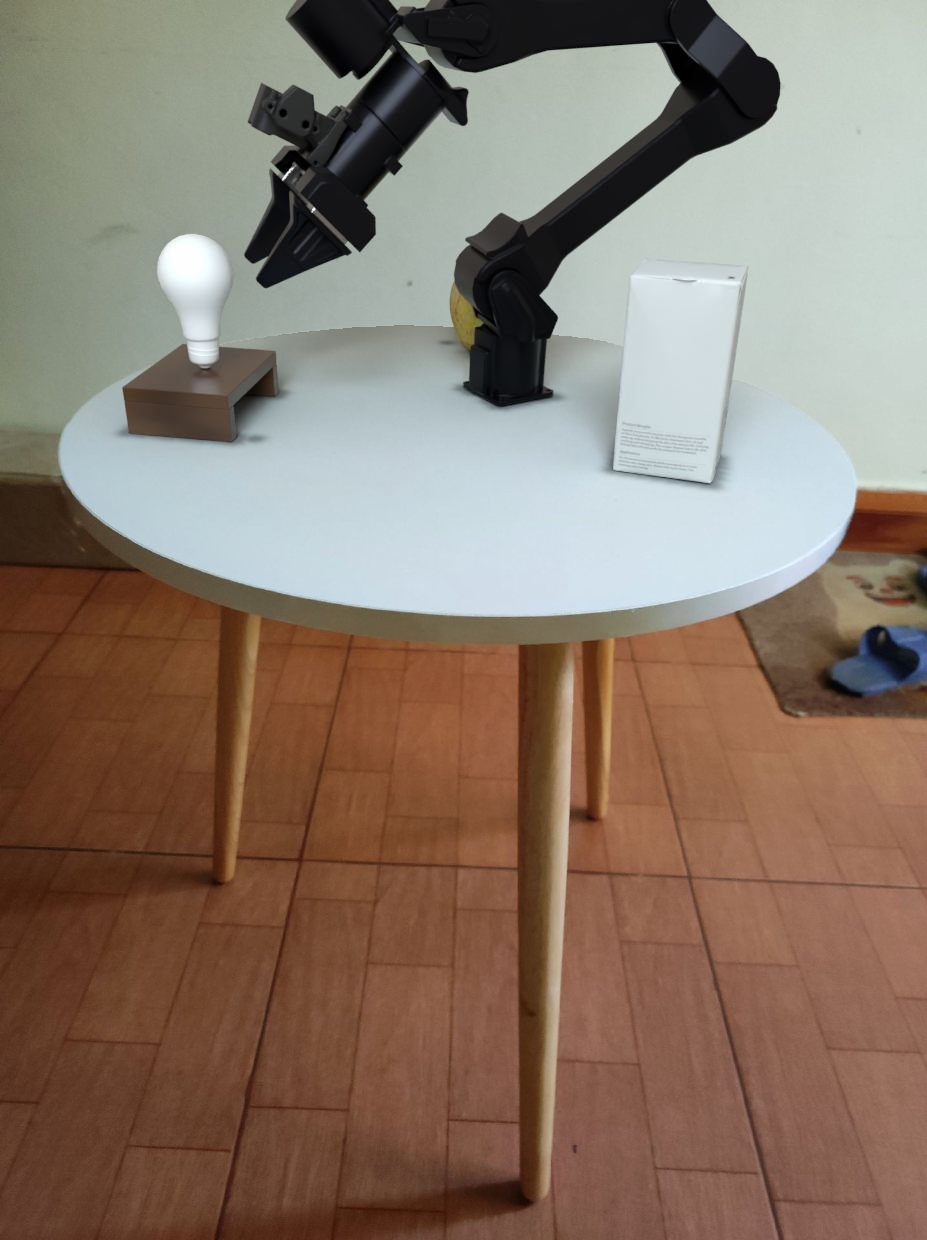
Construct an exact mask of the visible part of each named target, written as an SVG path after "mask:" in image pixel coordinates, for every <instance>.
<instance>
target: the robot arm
mask: <svg viewBox="0 0 927 1240" xmlns="http://www.w3.org/2000/svg"><path fill="white" fill-rule="evenodd" d="M284 19H285V21H286V22H287V23H288V24H289V26H290V27H292V28H293V30H294V31H295V32H296V33H297V34H298V35H299V37H300V38H301V39H302V40H303V41H304V42H305V43H306V44H307V45H308V46H309V47H310V49H311V50H312V51H313V52H314V53H315V54H316V55H317V56H318V58H319V59H320V60H321V61H322V62H323V64H325V65H326V67H327V68H328V69H329V70H330V71H331V72H332V73H333V74H334V75H335V76H336V78H337V79H344V77H346V76H347V75H349V74H350V73H351V74H352V76H353V77H354V78H355V79H356V80H357V81H360V80H362V79H363V78H364V77H366V76H367V75H368V74H369V73H370V72H371V71H372V70H373V69H374V68H375V67H376V66H377V65H378V64H379V62H380V61H382V59H383V58H384V56H385V55H386V54H387V52H388V51H390V52H391V53H390V55H389V56H388V57H387V58H386V60H385V61H383V63H382V64H381V65H380V67H378V69H377V70H376V71H375V72H374V73H373V74H372V76H371V77H370V78H369V79H368V80H367V82H365V84H364V85H363V86H362V87H361V89H359V91H358V92H357V94H356V95H355V96H354V97H353V98H352V99H351V100H350V102H349V103H348V104H347V105H346V106H344V105H342V104H340V105H335V106H334V107H333V108H331V109H330V111H329V112H328V113H327V115H326V114H323V113H322V112H319V111H317V110H316V107H315V99H314V98H315V95H314V94H312V93H311V92H309V91H307V90H305V89H303V88H301V87H299V86H297V85H296V84H291V85H290V86H289V87H288V88H287V89H285V91H284V92H283V93H282V92H281V91H279V90H277V89H275V88H272V87H271V86H269V85H267V84H265V83H263V82H260V84H259V88H258V90H257V93H256V97H255V99H254V102H253V105H252V109H251V111H250V113H249V116H248V119H247V124H249V125H250V126H251V127H253V129H255V130H257V131H259V132H261V133H263V134H265V135H268V136H276V137H277V138H279V139H281V140H283V141H286V142H288V143H290V144H291V145H283V146H282V147H281V149H280V150H279V151H278V152H277V153H276V155H275V156H274V157H273V158H272V159H271V160H270V163H271V164H272V165H273V166H274V167H275V168H276V169H277V170H278V171H279V173H278V174H277V173H276V172H275V171H274V170H273V169H272V168H271V167H270V168H269V169H268V172H269V173H268V175H269V178H270V180H269V181H270V189H271V190H270V191H271V198H270V200H269V203H268V204H267V207H266V209H265V211H264V213H263V215H262V217H261V219H260V221H259V223H258V225H257V227H256V229H255V231H254V233H253V235H252V237H251V239H250V240H249V243H248V245H247V247H246V249H245V251H244V253H243V256H244V258H245V259H246V260H247V261H248V262H249V263H250V264H252V265H255V264H257V263H258V262H261V261H262V260H264V259H265V260H264V263H263V264H262V266H261V268H260V269H259V271H258V273H257V275H256V276H255V280H256V282H257V284H259V285H260V286H261V287H262V288H264V289H269V288H271V287H273V286H275V285H278V284H280V283H282V282H284V281H286V280H290V279H292V278H294V277H296V276H298V275H301V274H302V273H305V272H308V271H310V270H312V269H315V268H316V267H320V266H322V265H324V264H326V263H327V264H328V263H329V262H332V261H334V260H337V259H339V258H342V257H344V256H346V257H349V256H350V255H351V254H353V251H352V250H351V249H350V248H349V247H348V246H347V245H346V244H347V243H350V245H351V246H353V248H354V249H356V251H357V252H359V253H361V252H362V251H363V250H364V249H365V247H367V245H368V244H369V243H370V242H371V241H373V239H374V237H376V235H377V224H376V220H377V219H376V216H375V214H374V213H373V212H371V210H370V209H369V208H368V207H369V204H368V203H367V202H366V201H365V200H366V199H367V198H368V197H369V196H370V195H371V194H372V192H373V191H374V190H375V189H376V188H377V187H378V186H379V184H380V183H381V182H382V181H383V180H384V179H385V177H386V176H387V175H388V174H391V175H392V176H394V177H395V176H396V175H397V174H398V173H399V172H400V171H401V169H402V168H403V167H404V166H403V164H402V163H401V162H400V160H401V159H402V158H403V157H404V156H405V155H406V153H408V151H409V150H410V149H411V148H412V147H413V145H414V144H416V142H417V141H418V140H419V139H420V138H421V137H422V135H423V134H424V133H425V132H426V130H427V129H429V127H430V126H431V125H432V124H433V123H434V122H435V121H436V120H437V118H438V117H439V116H440V115H441V114H443V115H444V116H445V117H446V119H447V120H448V121H449V122H450V123H453V124H455V125H459V126H461V127H465V126H467V124H468V123H469V117H468V96H469V93H470V92H469V89H468V88H466V87H462V86H452V85H451V84H450V83H449V82H448V80H447V78H445V77H444V76H443V74H442V73H441V72H440V70H438V68H437V67H436V66H435V64H434V63H433V62H432V61H434V62H435V63H436V64H437V65H438V66H440V67H442V68H443V69H449V70H453V71H459V72H464V73H474V74H477V73H482V72H487V71H489V70H493V69H496V68H499V67H504V66H507V65H510V64H513V63H516V62H519V61H522V60H524V59H527V58H529V57H531V56H535V55H537V54H541V53H544V52H548V51H563V50H575V49H576V50H577V49H590V48H603V47H604V48H605V47H616V46H617V47H618V46H632V45H644V44H645V45H647V44H656V45H657V46H658V47H659V49H660V50H661V52H662V54H663V57H664V59H665V61H666V62H667V66H668V67H669V70H670V71H671V73H672V75H673V77H674V78H675V79H677V81H678V82H679V83H678V85H677V86H676V87H675V89H674V90H673V92H672V94H671V95H670V97H669V99H668V101H667V102H666V104H665V106H664V107H663V109H662V112H661V113H660V114H659V115H658V116H657V118H655V119H654V120H653V121H652V122H650V123H649V124H648V125H647V126H645V127H644V128H643V129H641V130H640V131H639V132H638V133H637V134H636V135H634V136H633V137H632V138H630V139H629V140H628V141H626V142H625V143H624V144H623V145H622V146H620V147H619V148H618V149H616V150H614V152H612V153H611V154H610V155H609V156H608V157H606V158H605V159H604V160H602V161H601V162H600V163H599V164H597V165H596V166H594V167H593V169H591V170H590V171H589V172H587V173H586V174H585V175H583V176H582V177H581V178H579V179H578V180H577V181H576V182H574V183H573V184H572V185H571V186H570V187H568V188H567V189H566V190H564V191H563V192H562V193H561V194H560V195H558V196H557V197H556V198H554V199H553V200H552V201H550V202H549V203H548V204H547V205H546V206H544V207H542V209H541V210H539V211H538V212H537V213H535V214H534V215H532V216H531V217H528V218H526V219H523V220H519V221H518V220H516V219H515V218H513V217H511V216H509V215H507V214H506V213H504V212H499V213H497V214H496V215H495V216H494V217H493V218H492V219H491V220H490V222H489V223H487V225H486V226H485V227H484V228H483V229H482V230H481V231H479V232H477V233H475V234H474V235H470V236H467V237H465V239H464V241H465V243H467V244H469V245H467V246H465V248H463V250H462V251H461V252H460V253H459V254H458V256H457V258H456V259H455V265H454V272H453V278H454V279H453V280H455V285H456V287H457V289H458V292H459V293H460V294H461V295H462V296H463V298H464V299H465V300H467V301H468V302H469V303H470V304H471V306H472V309H473V312H474V315H475V317H476V318H478V319H480V320H481V321H482V322H483V324H482V325H481V326H479V327H475V330H474V344H473V345H471V347H470V350H469V368H468V380H465V381H463V385H462V387H463V388H464V389H466V390H467V391H469V392H471V393H472V394H473V393H474V394H475V395H477V396H479V397H481V398H483V399H485V400H486V401H488V402H490V403H492V404H494V405H496V406H501V407H502V406H506V405H507V406H508V405H513V404H518V403H524V402H530V401H533V400H539V399H544V398H550V397H554V390H553V389H551V388H549V387H547V386H545V373H546V372H545V371H546V359H547V346H548V345H547V344H548V340H549V339H550V338H551V337H552V334H553V333H554V330H555V327H556V325H557V323H558V319H559V316H558V314H557V313H556V312H555V311H554V309H552V308H551V306H549V304H548V303H547V302H546V301H545V300H544V298H543V297H542V296H541V295H542V294H543V293H544V292H545V290H546V289H547V288H548V287H549V286H550V283H551V282H552V280H553V278H554V277H555V275H556V273H557V271H558V269H559V268H560V266H561V264H562V262H563V261H564V260H565V258H566V257H567V256H569V255H570V254H571V253H572V252H574V251H575V250H576V249H578V248H579V247H580V246H582V244H584V243H585V242H587V241H588V240H589V239H590V238H592V237H593V236H594V235H596V234H597V233H598V232H600V230H602V229H603V228H604V227H606V226H607V225H608V224H610V223H611V222H612V221H613V220H615V219H617V217H618V216H620V215H621V214H622V213H624V212H625V211H626V210H627V209H629V208H630V207H631V206H632V205H634V204H635V203H636V202H638V201H639V200H640V199H641V198H643V197H644V196H645V195H647V194H648V193H650V191H651V190H653V189H654V188H655V187H657V186H658V185H659V184H661V183H662V182H663V181H665V180H666V179H667V178H668V177H670V176H671V175H672V174H674V173H675V172H676V171H678V170H679V169H680V168H681V167H682V166H683V165H685V164H686V163H687V162H689V161H690V160H692V159H693V158H695V157H698V156H700V155H702V154H703V155H704V154H706V153H708V152H712V151H714V150H717V149H719V148H722V147H725V146H728V145H732V144H733V143H735V142H737V141H739V140H740V139H742V138H744V137H746V136H748V135H749V134H751V133H753V132H755V131H757V130H759V129H760V128H762V127H763V126H766V124H767V123H769V121H770V120H771V119H772V118H773V117H774V115H775V114H776V112H777V111H778V103H779V100H780V97H781V85H782V83H781V78H780V73H779V71H778V69H777V67H776V66H775V64H774V63H773V62H772V61H770V60H769V59H768V58H767V57H764V56H760V55H758V54H757V53H756V52H755V51H754V49H753V48H752V46H751V45H750V44H749V42H748V41H747V40H746V39H745V38H744V37H742V35H741V34H739V33H738V32H737V31H736V30H735V29H734V28H732V26H730V24H728V23H727V22H726V21H725V20H724V19H723V18H721V16H720V15H718V13H717V12H716V11H715V10H714V8H713V7H712V5H711V3H709V1H708V0H429V1H428V3H427V4H426V5H425V7H416V6H409V5H407V6H400V7H399V8H398V9H397V8H396V7H395V6H394V4H393V3H392V2H391V0H295V2H294V3H293V4H292V6H291V7H290V9H289V10H288V11H287V14H286V15H285V18H284ZM401 42H402V43H406V44H410V45H414V46H418V47H421V48H424V49H425V51H426V53H427V55H428V57H430V58H431V59H432V60H430V59H424V60H422V61H420V62H417V61H416V60H415V58H413V56H412V55H411V54H410V52H409V51H408V50H407V49H406V48H405V47H404V46H403V45H402V43H401Z"/></svg>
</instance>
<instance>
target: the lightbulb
mask: <svg viewBox="0 0 927 1240" xmlns="http://www.w3.org/2000/svg"><path fill="white" fill-rule="evenodd" d="M156 264H157V265H156V272H157V280H158V283H159V285H160V288H161V290H162V291H163V293H164V295H165V296H166V298H167V300H168V301H169V303H170V304H171V305H172V307H173V309H174V310H175V313H176V315H177V317H178V319H179V322H180V327H181V331H182V336H183V338H184V339H185V340H186V344H187V347H188V352H189V358H190V361H191V362H192V363H194V364H197V365H198V366H199V367H200V368H210V367H211V366H212V364H214V363H216V362H217V361H218V360H219V347H220V345H219V344H220V342H219V338H220V337H221V333H222V331H221V329H222V328H221V327H222V326H221V323H222V315H223V312H224V311H223V310H224V307H225V305H226V302H227V300H228V298H229V296H230V293H231V290H232V287H233V284H234V278H235V277H234V275H235V274H234V268H233V264H232V261H231V259H230V257H229V255H228V253H227V252H226V251H225V249H224V248H223V247H222V246H221V244H219V243H218V242H217V241H215V240H213V239H212V238H211V237H208V236H206V235H203V234H198V233H185V234H181V235H179V236H177V237H175V238H173V239H171V240H170V241H169V242H167V244H166V245H165V246H164V248H163V249H162V250H161V252H160V254H159V256H158V259H157V263H156Z"/></svg>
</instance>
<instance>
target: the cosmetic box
mask: <svg viewBox="0 0 927 1240" xmlns="http://www.w3.org/2000/svg"><path fill="white" fill-rule="evenodd" d="M748 273H749V265H745V264H744V265H742V264H731V263H717V262H716V263H714V262H704V261H703V262H702V261H701V262H700V261H686V260H674V259H660V258H651V257H645V258H644V259H643V261H642V262H641V263H640V264H639V265H638V266H637V267H636V268H635V269H634V270H633V272H632V273H631V274H630V275H629V276H628V285H627V286H628V289H627V299H626V312H625V321H624V323H625V325H624V334H623V335H624V336H623V345H622V357H621V366H620V367H621V368H620V380H619V392H618V403H617V414H616V425H615V437H614V447H613V462H612V470H613V471H615V472H622V473H623V472H624V473H632V474H639V475H645V476H653V477H661V478H668V479H675V480H681V481H682V480H683V481H691V482H696V483H704V484H712V482H713V480H714V478H715V474H716V472H717V469H718V466H719V462H720V459H721V456H722V451H723V445H724V438H725V437H724V436H725V431H726V424H727V417H728V411H729V405H730V397H731V392H732V391H731V390H732V384H733V383H732V382H733V376H734V370H735V363H736V356H737V349H738V343H739V337H740V336H739V335H740V329H741V321H742V315H743V309H744V300H745V295H746V288H747V281H748Z"/></svg>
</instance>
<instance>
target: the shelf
mask: <svg viewBox="0 0 927 1240" xmlns="http://www.w3.org/2000/svg"><path fill="white" fill-rule="evenodd" d="M277 363H278V362H277V352H276V350H269V349H258V348H257V349H255V348H243V347H229V346H219V360H218V361H217V362H216V363H214V364H212V366H211V367H210V368H200V367H199V366H198V365H197V364H194V363H192V362H191V361H190V358H189V352H188V347H187V343H182V344H180V345H178V347H176V348H174V349H173V350H172V351H170V352H169V353H168V354H166V355H165V356H163V357H162V358H161V359H159V360H158V361H157V362H155V363H153V364H152V365H150V367H148V368H147V369H145V370H143V372H141V373H140V374H139V375H137V376H136V377H134V378H133V379H132V380H130V381H129V382H128V383H126V384H125V385H123V386H122V395H123V402H124V403H123V404H124V408H125V409H124V410H125V414H126V415H125V416H126V421H127V427H128V429H127V430H128V434H134V435H146V436H157V437H170V438H180V439H181V438H182V439H193V440H205V441H217V442H227V443H232V442H233V441H235V439H236V438H237V427H236V416H235V406H234V405H235V404H236V403H237V402H238V401H240V400H241V398H242V397H243V396H245V395H249V396H262V397H273V398H274V397H275V398H276V397H277V395H278V394H279V393H280V391H279V379H278V378H279V377H278V365H277Z"/></svg>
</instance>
